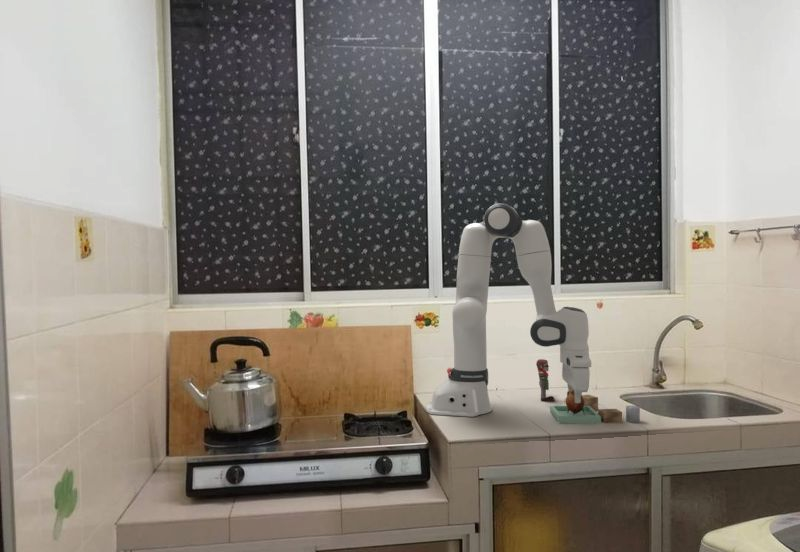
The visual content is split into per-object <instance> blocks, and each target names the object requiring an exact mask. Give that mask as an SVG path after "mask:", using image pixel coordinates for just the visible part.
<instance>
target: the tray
mask: <svg viewBox="0 0 800 552" xmlns="http://www.w3.org/2000/svg"><path fill="white" fill-rule="evenodd" d="M567 408H568V407H567V405H561V404H560V405H556V404H555V405H553V404H552V405H551V404H550V405H549V412H550V413H551V415H552V416H553V417H554V419H555V420H556V421H557V423H559V424H560V423H561V424H564V423H565V424H570V423H571V424H602V422H601V416H600V415H599V414H598V411H595V410H594V409H592V408H591V407H590V406H583V410H584V413H583V410H581V411H580V412H579V413H577V414H574V415H573V413H572V412H571V411H570V410H569V412H568V409H567ZM584 414H585V415H584Z"/></svg>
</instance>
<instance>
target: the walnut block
mask: <svg viewBox="0 0 800 552" xmlns="http://www.w3.org/2000/svg"><path fill="white" fill-rule="evenodd" d="M597 413H598V414H599V415H600V416H601V423H603V424H618V423H619V424H621V423H623V412H622V411H621V410H619V409H617V408H602V409H601V408H598V410H597Z"/></svg>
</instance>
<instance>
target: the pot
mask: <svg viewBox="0 0 800 552" xmlns="http://www.w3.org/2000/svg"><path fill="white" fill-rule="evenodd" d="M569 393H570V395H569ZM566 394H567V395H566V397H565V406H567V407H568V408H567V409H568V412H569V410H570V411H571V412H572V413H573V415H574V414H577V413H579V412H580V411H581V410H583V406H584V403H585V401H584V398H583V397H582V395H583V394H582V395H581V402H580V403H575V402H574V396H575V392H574V391H568V390H567V392H566ZM583 413H584V410H583ZM584 415H585V414H584Z"/></svg>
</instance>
